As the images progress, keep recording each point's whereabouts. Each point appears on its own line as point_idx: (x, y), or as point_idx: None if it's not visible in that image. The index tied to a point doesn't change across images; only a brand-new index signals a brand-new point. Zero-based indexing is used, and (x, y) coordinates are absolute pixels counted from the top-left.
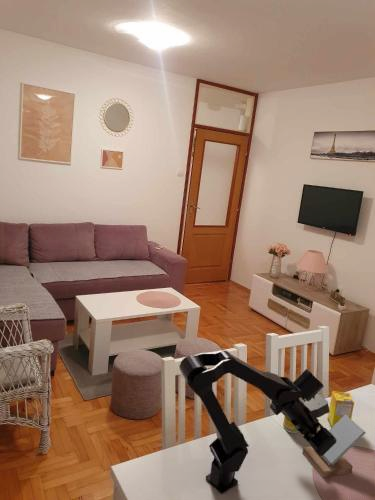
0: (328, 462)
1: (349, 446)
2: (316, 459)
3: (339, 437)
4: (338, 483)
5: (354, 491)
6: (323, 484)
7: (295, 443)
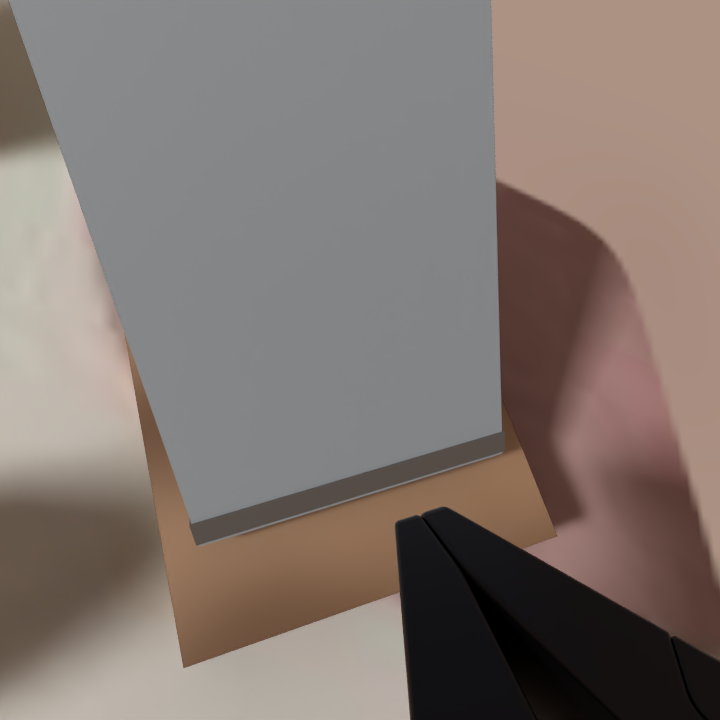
0: (479, 453)
1: (489, 138)
2: (387, 556)
3: (312, 181)
4: (560, 417)
5: (612, 327)
6: (603, 561)
7: (23, 694)
